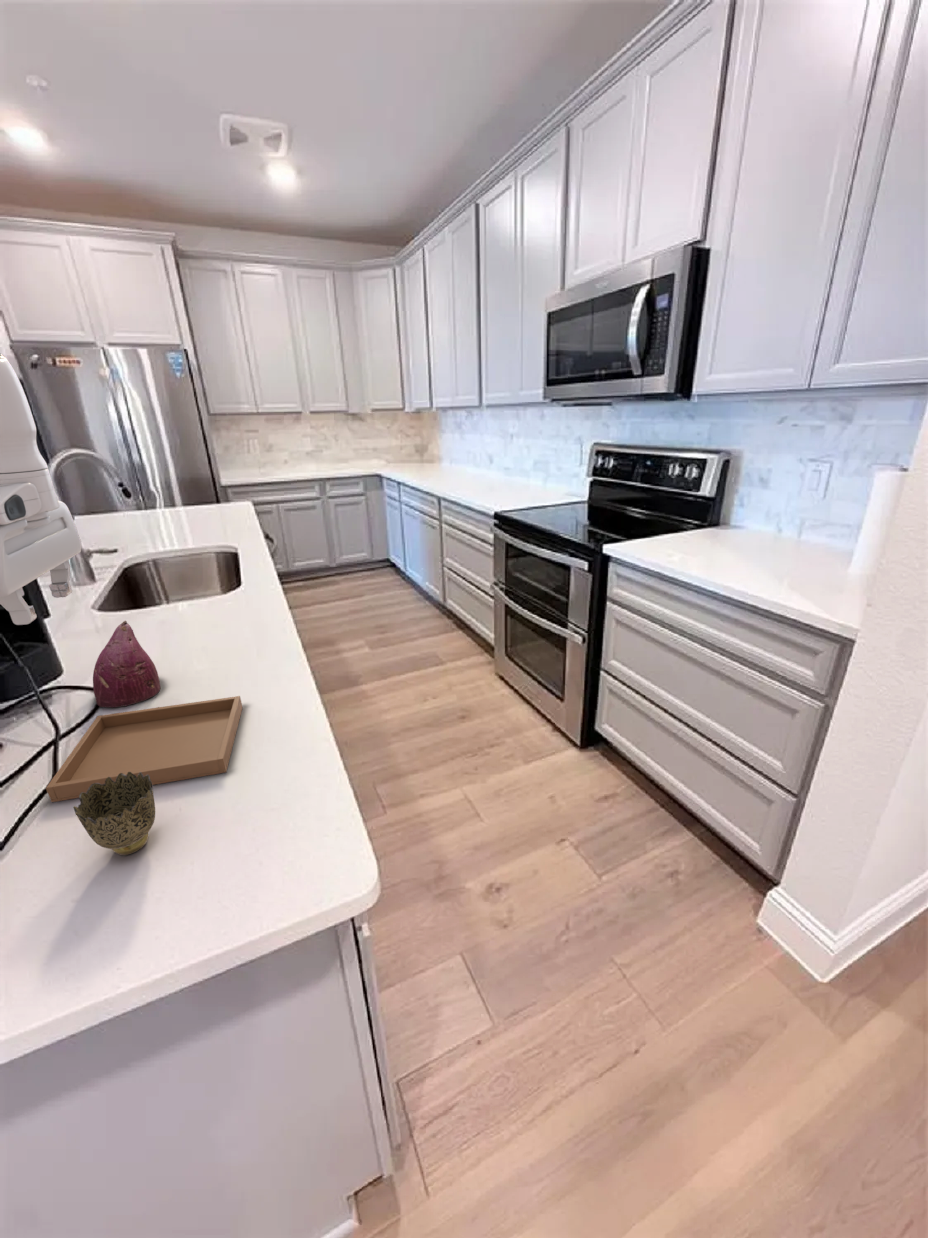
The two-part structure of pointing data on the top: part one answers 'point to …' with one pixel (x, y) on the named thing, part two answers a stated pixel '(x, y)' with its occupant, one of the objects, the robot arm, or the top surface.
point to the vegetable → (124, 671)
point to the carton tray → (151, 746)
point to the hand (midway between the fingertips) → (45, 608)
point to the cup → (118, 812)
